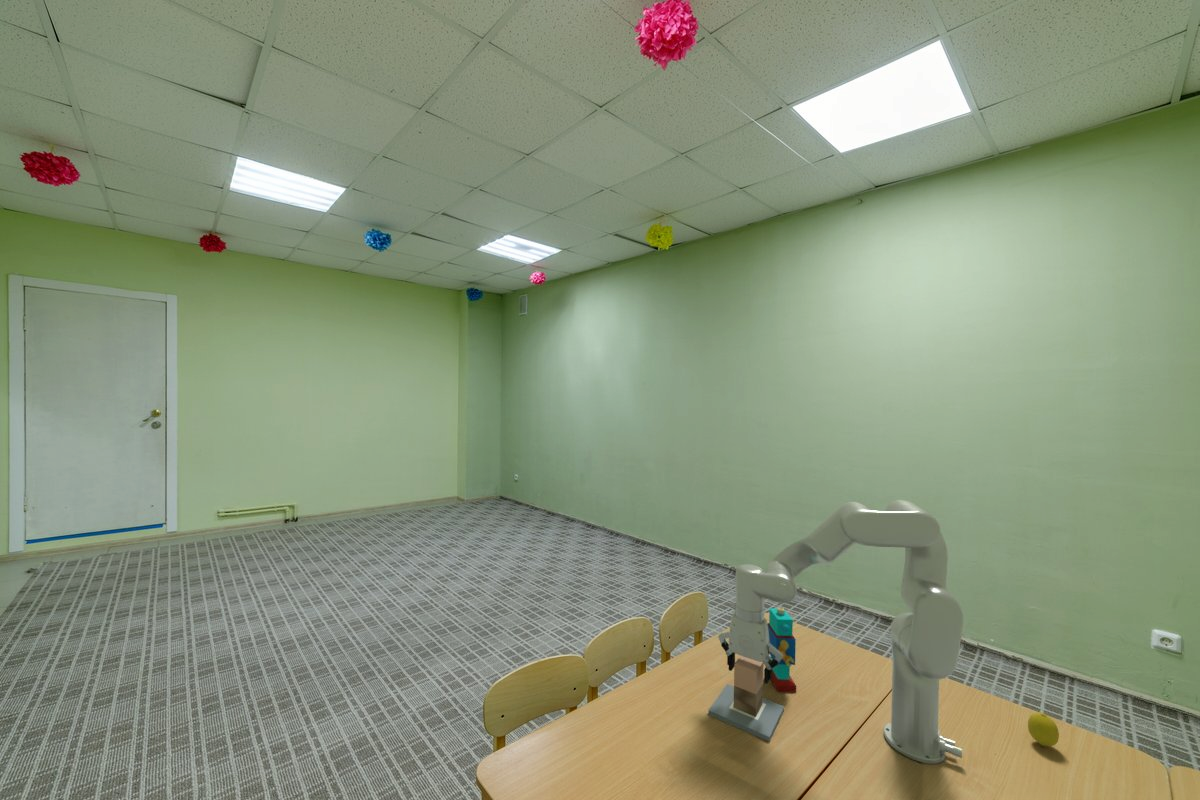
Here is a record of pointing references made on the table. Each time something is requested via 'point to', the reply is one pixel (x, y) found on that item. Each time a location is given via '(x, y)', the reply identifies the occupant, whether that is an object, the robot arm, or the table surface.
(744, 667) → the terracotta block
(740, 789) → the table surface
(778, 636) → the toy robot
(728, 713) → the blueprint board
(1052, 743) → the lemon
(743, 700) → the walnut block
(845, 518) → the robot arm
